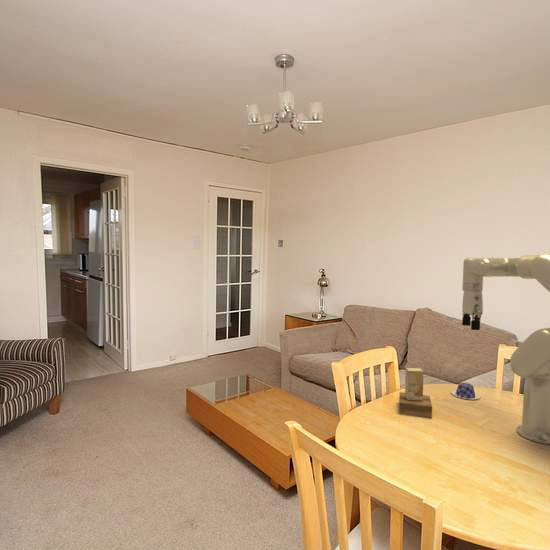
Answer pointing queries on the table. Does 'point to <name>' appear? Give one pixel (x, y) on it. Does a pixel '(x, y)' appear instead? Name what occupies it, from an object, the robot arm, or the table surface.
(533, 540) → the table surface
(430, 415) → the walnut block
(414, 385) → the skincare box
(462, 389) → the checkered brimmed hat
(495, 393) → the table surface
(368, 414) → the table surface
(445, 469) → the table surface
